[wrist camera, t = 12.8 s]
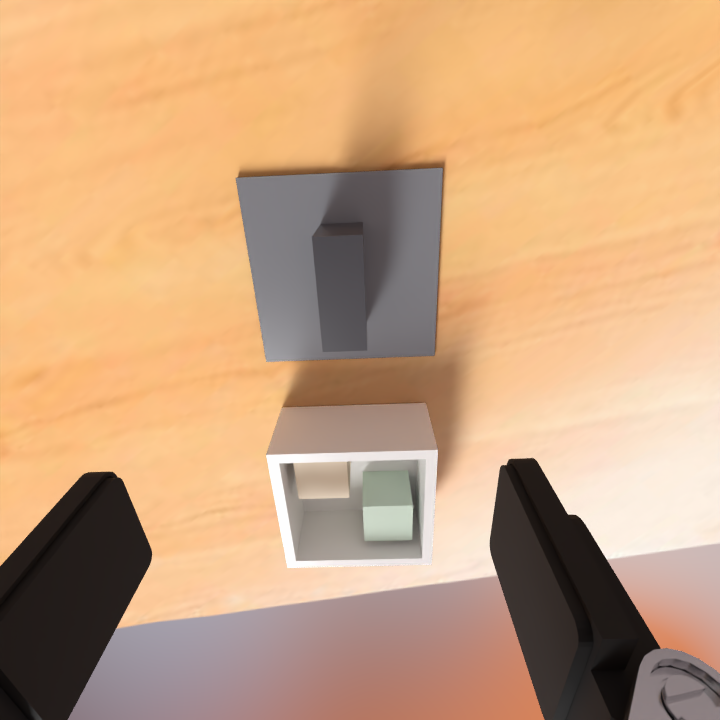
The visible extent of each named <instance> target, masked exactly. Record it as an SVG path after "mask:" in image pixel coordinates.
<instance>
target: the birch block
mask: <svg viewBox="0 0 720 720" xmlns="http://www.w3.org/2000/svg"><path fill="white" fill-rule="evenodd" d="M293 465H294V471H295V478H296V484H297V491H298V497H299V499H322V498H349V495H350V471H351V461H348V462H313V463H293Z"/></svg>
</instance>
